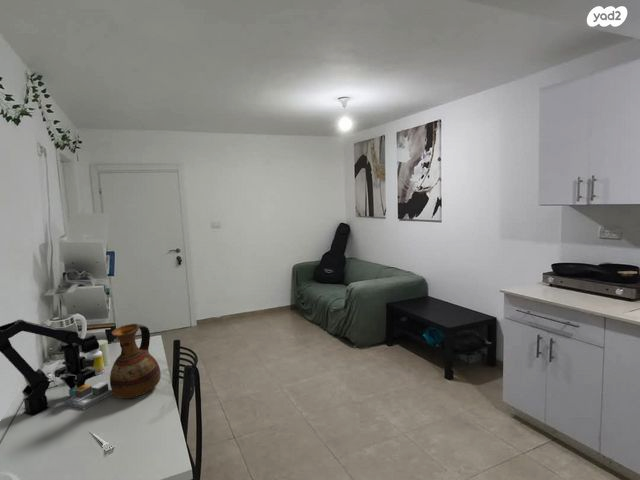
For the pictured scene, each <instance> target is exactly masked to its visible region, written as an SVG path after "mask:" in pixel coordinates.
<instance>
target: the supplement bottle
mask: <svg viewBox="0 0 640 480" xmlns="http://www.w3.org/2000/svg"><path fill="white" fill-rule="evenodd" d="M86 359H95V361H94V367H87V369H92V370H95V374H96V375H95V376H97V375H100V374H102V373H104V371H105V366H104V363H103V355H102V352H101V351H99V349H97V350H94V351H91V352H88V353H87V355H86Z"/></svg>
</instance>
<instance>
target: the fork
mask: <svg viewBox="0 0 640 480" xmlns="http://www.w3.org/2000/svg"><path fill="white" fill-rule="evenodd" d="M93 435H94V436H95V437H96V438H97V439H98V440H99V441H100V442H101V443H102V444H103V445H102V444H101V443H100V442H99V441H98V440H97V439H96V438H95V437H94V436H93ZM93 435H92V436H93V437H94V438H95V439H96V440H97V441H98V442H99V443H100V444H101V445H102V446H101V448H102V447H103V446H104V445H106V444H109V443H110V442H108V441H105V440H104V439H102V438H101V437H100V436H98V435H97V434H95V433H94V434H93ZM115 447H116V445H114V446H112V447H111V446H110V448H109V447H108V449H106V450H105V451H104V452H107V451H110V450H111V449H113V448H115Z"/></svg>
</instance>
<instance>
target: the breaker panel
mask: <svg viewBox="0 0 640 480" xmlns="http://www.w3.org/2000/svg"><path fill="white" fill-rule="evenodd" d="M113 394H114V393H113V391H112V389H109V390H108V391H106V392H105V393H103V394H101V395H99V396H98V395H93V393H91V394H89V395H87V396H85V397H83V398H78V397H76V395H75V396H74V397H69V398H68V399H65V400H64V405H65V406H70V407H74V408H78V409H82V410H86V409H88V408H89V407H91V406H93V405H95V404H97V403H98V402H100V401H102V400H104V399H105V398H108V397H109V396H111V395H113Z"/></svg>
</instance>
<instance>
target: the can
mask: <svg viewBox="0 0 640 480" xmlns="http://www.w3.org/2000/svg"><path fill="white" fill-rule="evenodd" d="M97 341H98V343H99V351H101V352H102V355H103V363H104V367H105V366H107V365H109V364H110V363H111V361H110V351H109V344H108V343H109V341H108V340H107V339H97Z"/></svg>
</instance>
